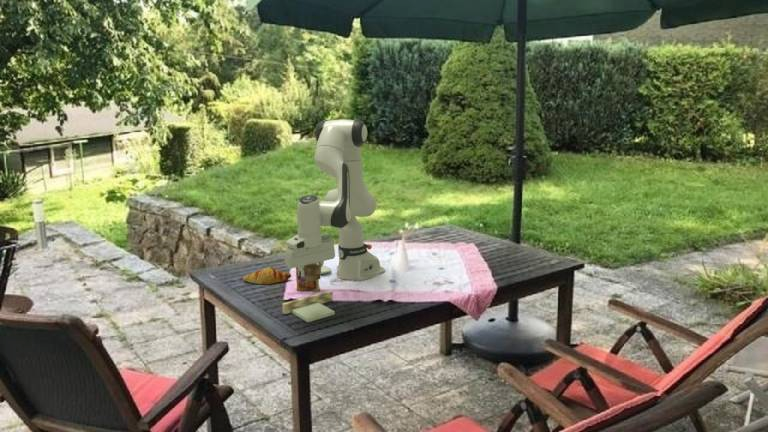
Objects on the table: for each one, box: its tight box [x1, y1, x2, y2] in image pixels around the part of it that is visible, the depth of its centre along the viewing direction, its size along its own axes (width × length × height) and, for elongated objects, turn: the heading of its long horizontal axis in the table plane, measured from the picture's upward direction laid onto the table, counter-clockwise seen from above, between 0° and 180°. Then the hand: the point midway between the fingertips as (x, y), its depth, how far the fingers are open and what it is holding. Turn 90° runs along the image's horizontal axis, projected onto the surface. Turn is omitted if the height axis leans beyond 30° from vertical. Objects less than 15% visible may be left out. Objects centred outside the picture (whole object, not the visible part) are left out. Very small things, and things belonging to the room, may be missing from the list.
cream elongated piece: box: [318, 263, 332, 275], centre depth 304 cm, size 9×32×4 cm, turn 21°
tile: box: [291, 302, 336, 323], centre depth 248 cm, size 12×12×1 cm
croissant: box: [242, 266, 292, 285], centre depth 284 cm, size 21×10×8 cm
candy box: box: [295, 262, 320, 292], centre depth 272 cm, size 9×4×15 cm, turn 81°
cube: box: [302, 263, 321, 282], centre depth 244 cm, size 5×5×5 cm
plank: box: [281, 290, 334, 315], centre depth 254 cm, size 22×2×4 cm, turn 127°
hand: (311, 274), depth 244 cm, fingers closed on cube, 5 cm apart
